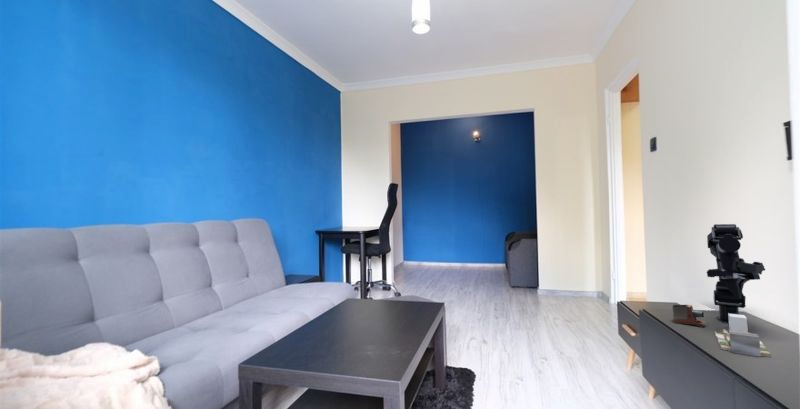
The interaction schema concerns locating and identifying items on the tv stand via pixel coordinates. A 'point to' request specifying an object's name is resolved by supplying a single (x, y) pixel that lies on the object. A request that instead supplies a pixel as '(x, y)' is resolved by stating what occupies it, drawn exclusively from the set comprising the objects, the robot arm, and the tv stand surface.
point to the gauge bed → (742, 343)
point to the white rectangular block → (737, 323)
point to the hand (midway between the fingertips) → (738, 298)
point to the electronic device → (687, 315)
